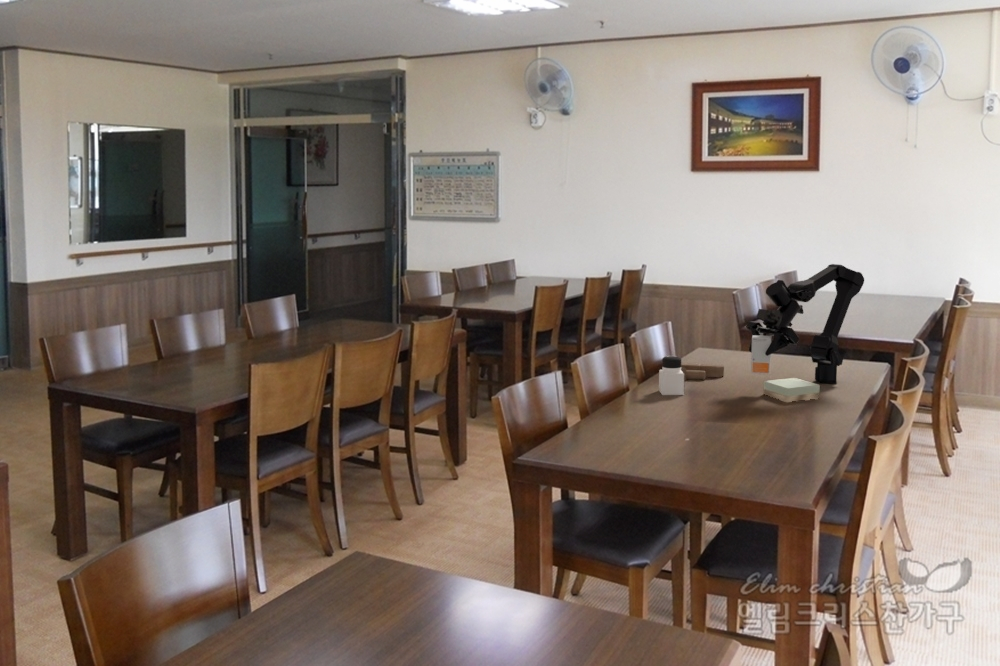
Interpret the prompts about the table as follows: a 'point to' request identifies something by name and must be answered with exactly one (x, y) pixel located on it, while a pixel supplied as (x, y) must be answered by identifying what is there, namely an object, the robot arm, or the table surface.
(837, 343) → the robot arm
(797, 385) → the top slab
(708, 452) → the table surface
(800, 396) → the bottom slab
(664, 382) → the medicine bottle
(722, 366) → the wooden block set
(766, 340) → the skincare box
